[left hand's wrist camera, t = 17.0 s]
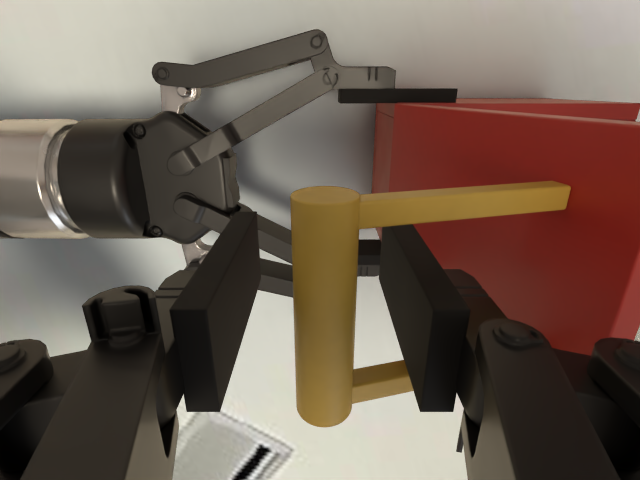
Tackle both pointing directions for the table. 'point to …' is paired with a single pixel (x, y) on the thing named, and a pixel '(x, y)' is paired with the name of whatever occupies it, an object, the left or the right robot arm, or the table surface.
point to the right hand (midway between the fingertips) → (439, 179)
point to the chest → (499, 104)
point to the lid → (476, 237)
